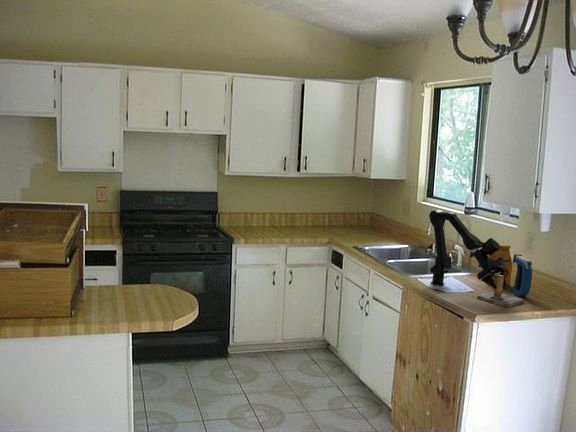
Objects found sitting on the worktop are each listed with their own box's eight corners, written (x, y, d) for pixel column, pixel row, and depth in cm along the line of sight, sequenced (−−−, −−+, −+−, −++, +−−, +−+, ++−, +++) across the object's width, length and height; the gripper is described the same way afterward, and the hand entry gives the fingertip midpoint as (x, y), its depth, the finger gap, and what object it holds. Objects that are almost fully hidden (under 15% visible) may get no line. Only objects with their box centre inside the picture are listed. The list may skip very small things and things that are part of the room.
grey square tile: (477, 298, 290) (477, 295, 290) (494, 294, 301) (494, 291, 301) (507, 307, 278) (507, 304, 278) (524, 302, 289) (524, 299, 289)
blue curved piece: (516, 290, 313) (521, 254, 310) (529, 299, 297) (534, 261, 294) (508, 289, 313) (512, 253, 310) (520, 298, 297) (525, 260, 294)
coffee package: (512, 286, 320) (518, 247, 317) (492, 286, 317) (498, 246, 314) (501, 281, 330) (506, 243, 327) (482, 281, 327) (487, 242, 323)
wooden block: (491, 300, 289) (495, 274, 287) (499, 301, 289) (503, 275, 287) (493, 302, 286) (497, 276, 284) (501, 303, 285) (504, 277, 283)
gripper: (486, 253, 280) (504, 281, 274) (505, 250, 293) (523, 277, 286) (469, 265, 287) (486, 293, 281) (488, 262, 300) (506, 288, 293)
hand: (501, 287), depth 285 cm, fingers open, 9 cm apart
